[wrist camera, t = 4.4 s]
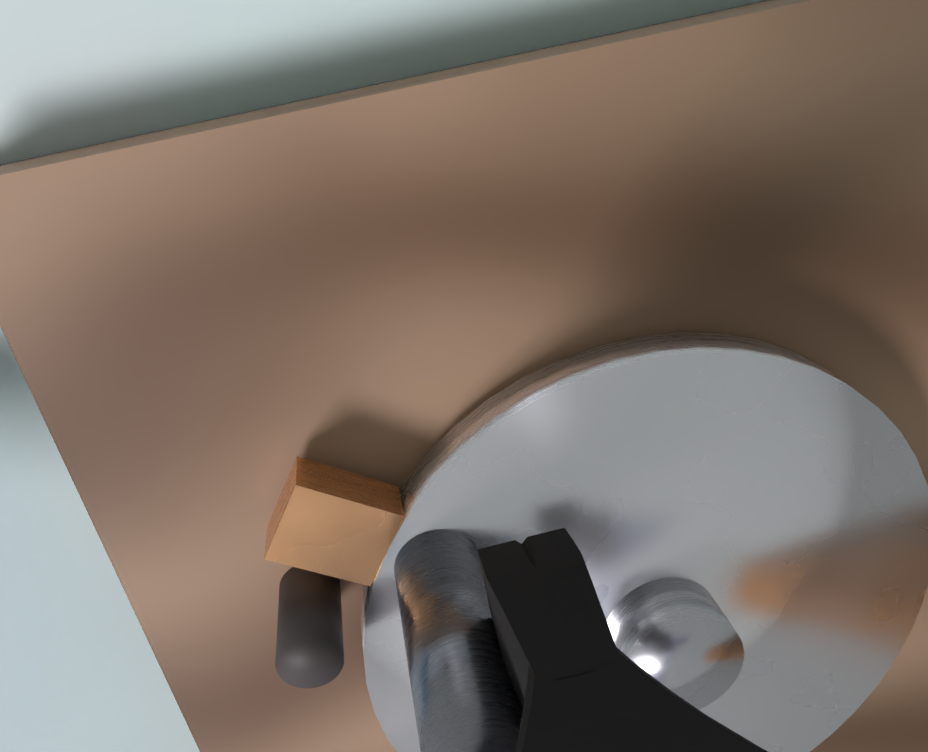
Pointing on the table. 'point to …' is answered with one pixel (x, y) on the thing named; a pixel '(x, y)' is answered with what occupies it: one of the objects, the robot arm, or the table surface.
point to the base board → (451, 304)
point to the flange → (639, 539)
